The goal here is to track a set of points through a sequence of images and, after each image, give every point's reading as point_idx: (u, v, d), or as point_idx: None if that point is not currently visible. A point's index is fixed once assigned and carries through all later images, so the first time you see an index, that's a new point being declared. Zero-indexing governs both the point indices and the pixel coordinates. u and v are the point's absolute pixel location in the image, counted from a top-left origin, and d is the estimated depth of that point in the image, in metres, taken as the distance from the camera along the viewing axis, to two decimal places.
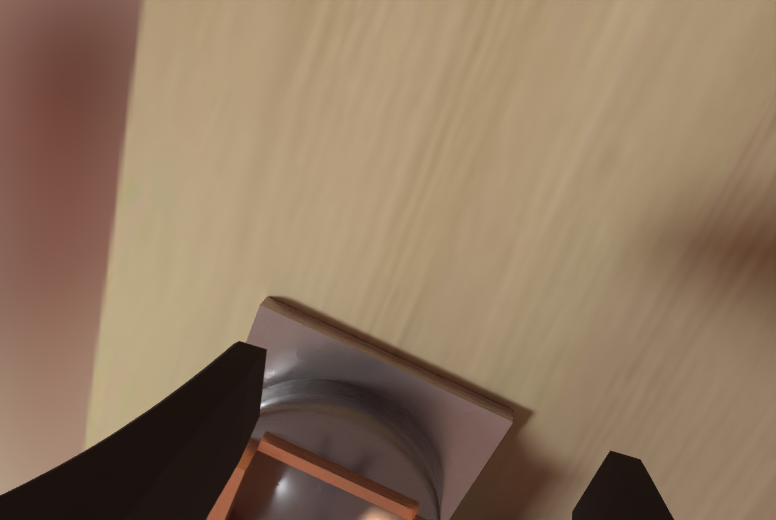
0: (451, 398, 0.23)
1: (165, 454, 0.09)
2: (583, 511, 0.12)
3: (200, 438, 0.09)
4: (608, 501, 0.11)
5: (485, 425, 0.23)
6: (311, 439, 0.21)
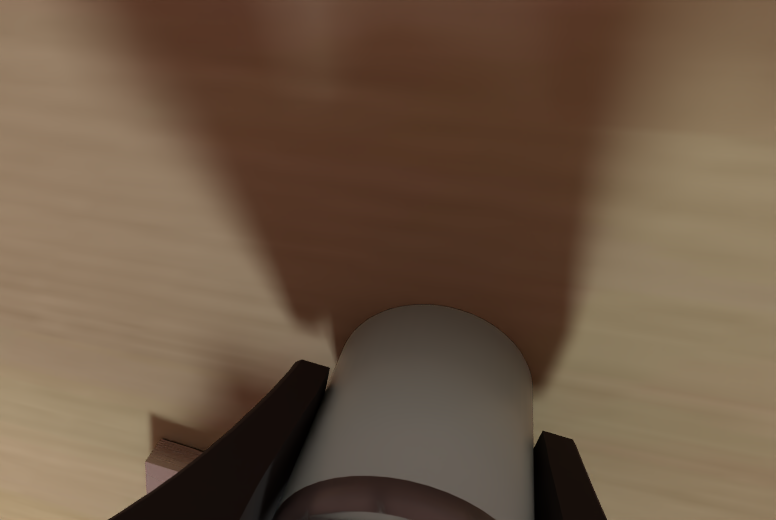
0: None
1: (250, 480, 0.09)
2: None
3: (277, 462, 0.09)
4: (537, 480, 0.11)
5: None
6: None
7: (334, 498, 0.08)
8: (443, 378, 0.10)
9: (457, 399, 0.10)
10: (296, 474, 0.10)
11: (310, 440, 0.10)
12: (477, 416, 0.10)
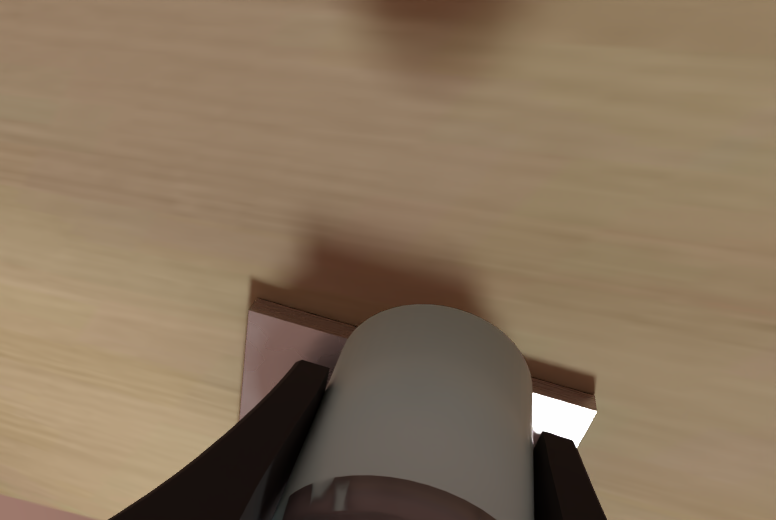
0: (249, 362, 0.23)
1: (250, 480, 0.09)
2: None
3: (277, 462, 0.09)
4: (537, 480, 0.11)
5: (264, 332, 0.22)
6: None
7: (333, 498, 0.08)
8: (442, 378, 0.10)
9: (457, 399, 0.10)
10: (296, 473, 0.10)
11: (310, 439, 0.10)
12: (477, 415, 0.10)
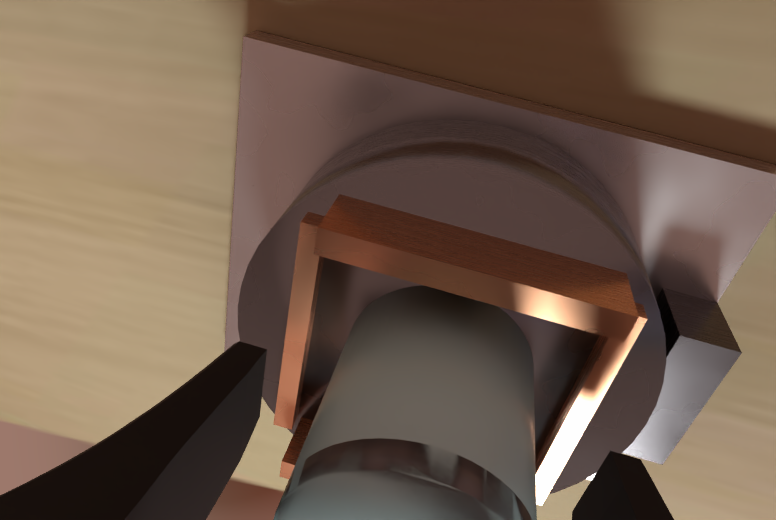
0: (245, 140, 0.15)
1: (165, 454, 0.09)
2: (583, 511, 0.12)
3: (200, 438, 0.09)
4: (608, 501, 0.11)
5: (268, 79, 0.14)
6: (266, 359, 0.15)
7: (348, 459, 0.09)
8: (448, 352, 0.11)
9: (462, 371, 0.10)
10: (310, 441, 0.10)
11: (323, 410, 0.11)
12: (482, 386, 0.10)
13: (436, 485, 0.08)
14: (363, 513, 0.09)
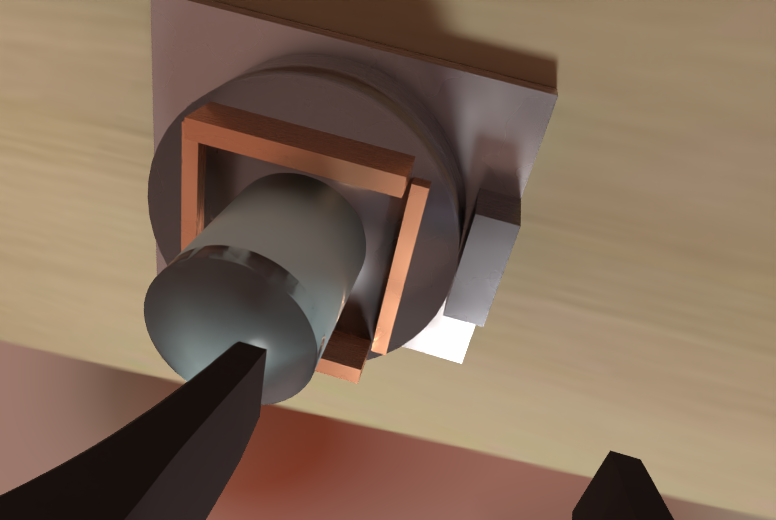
0: (158, 74, 0.20)
1: (165, 454, 0.09)
2: (583, 511, 0.12)
3: (200, 438, 0.09)
4: (608, 501, 0.11)
5: (171, 24, 0.19)
6: (172, 243, 0.19)
7: (185, 256, 0.13)
8: (278, 206, 0.15)
9: (283, 216, 0.15)
10: None
11: None
12: (295, 226, 0.15)
13: (238, 266, 0.13)
14: (198, 296, 0.14)
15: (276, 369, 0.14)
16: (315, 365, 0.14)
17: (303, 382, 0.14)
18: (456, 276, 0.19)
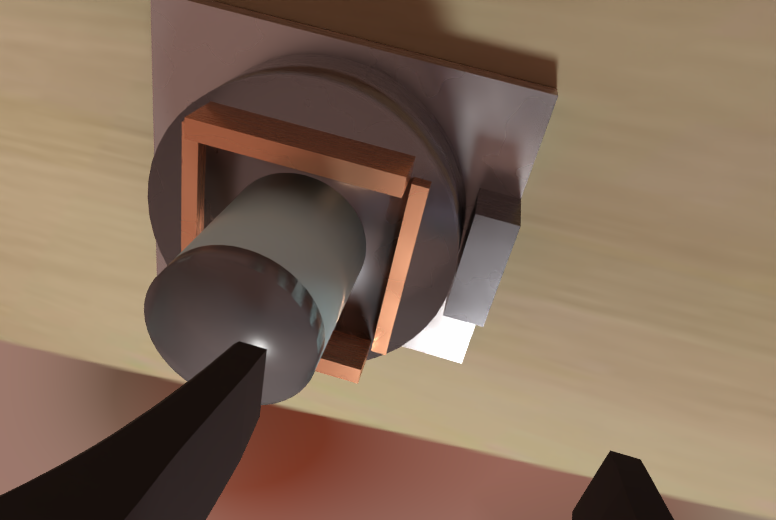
0: (158, 74, 0.20)
1: (165, 454, 0.09)
2: (583, 511, 0.12)
3: (200, 438, 0.09)
4: (608, 501, 0.11)
5: (171, 24, 0.19)
6: (172, 243, 0.19)
7: (185, 256, 0.13)
8: (278, 206, 0.15)
9: (283, 216, 0.15)
10: None
11: None
12: (296, 225, 0.15)
13: (238, 267, 0.13)
14: (199, 296, 0.14)
15: (276, 369, 0.14)
16: (315, 365, 0.14)
17: (303, 382, 0.14)
18: (456, 276, 0.19)
